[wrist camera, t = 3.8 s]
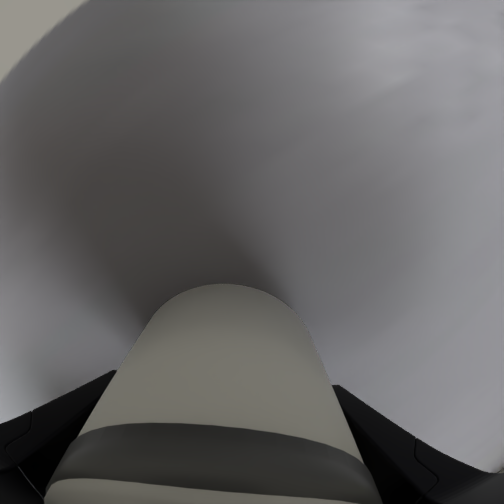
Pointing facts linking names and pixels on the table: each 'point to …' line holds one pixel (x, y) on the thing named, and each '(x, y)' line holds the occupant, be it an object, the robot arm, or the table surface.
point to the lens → (217, 414)
